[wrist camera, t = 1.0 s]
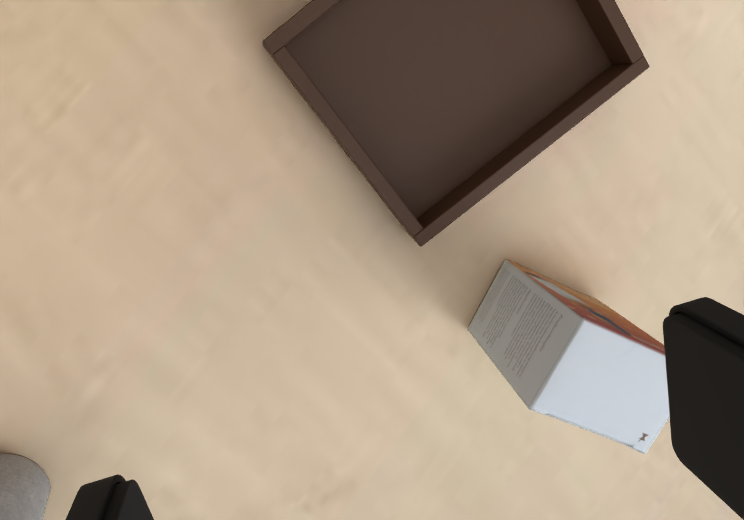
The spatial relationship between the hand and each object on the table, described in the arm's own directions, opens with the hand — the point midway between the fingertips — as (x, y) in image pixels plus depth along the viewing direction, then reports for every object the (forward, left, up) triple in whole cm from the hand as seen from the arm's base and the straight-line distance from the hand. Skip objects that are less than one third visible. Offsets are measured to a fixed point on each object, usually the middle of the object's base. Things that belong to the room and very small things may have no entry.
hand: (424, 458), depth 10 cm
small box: (+16, +6, -27) cm, 32 cm away
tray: (-1, +11, -27) cm, 29 cm away
